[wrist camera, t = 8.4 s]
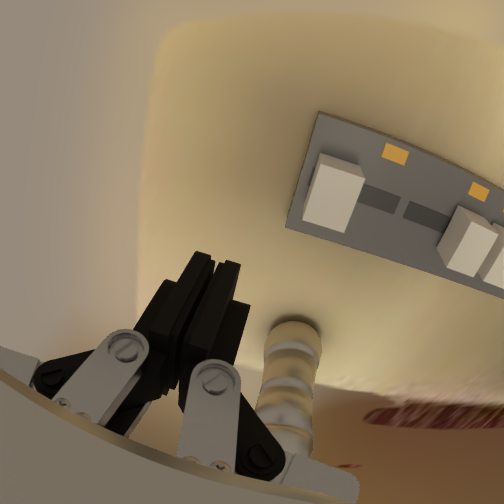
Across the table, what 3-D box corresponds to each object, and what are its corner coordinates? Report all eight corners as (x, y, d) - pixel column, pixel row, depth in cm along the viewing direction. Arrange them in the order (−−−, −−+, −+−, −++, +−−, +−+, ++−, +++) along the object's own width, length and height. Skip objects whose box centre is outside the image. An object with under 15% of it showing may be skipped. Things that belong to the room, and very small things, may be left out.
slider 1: (360, 165, 23) (365, 178, 20) (341, 215, 25) (343, 232, 23) (320, 152, 23) (320, 163, 20) (304, 203, 25) (302, 220, 23)
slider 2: (484, 217, 22) (498, 234, 20) (462, 258, 25) (473, 277, 22) (458, 205, 22) (471, 221, 20) (436, 248, 25) (446, 267, 22)
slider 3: (515, 233, 22) (529, 250, 19) (493, 270, 24) (504, 289, 22) (493, 222, 22) (507, 239, 20) (471, 261, 25) (482, 280, 22)
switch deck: (543, 214, 22) (552, 224, 20) (500, 288, 28) (506, 300, 26) (318, 110, 23) (318, 114, 22) (287, 217, 29) (284, 228, 27)
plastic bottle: (264, 346, 39) (226, 499, 22) (271, 307, 35) (228, 483, 18) (315, 355, 38) (296, 511, 21) (329, 317, 34) (315, 497, 18)
